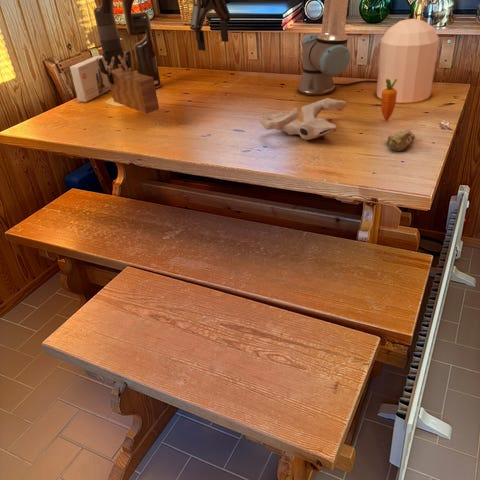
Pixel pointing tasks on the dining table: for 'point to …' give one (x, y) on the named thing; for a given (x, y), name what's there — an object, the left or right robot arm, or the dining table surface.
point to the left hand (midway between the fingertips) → (119, 81)
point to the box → (134, 90)
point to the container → (408, 60)
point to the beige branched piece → (305, 120)
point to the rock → (400, 140)
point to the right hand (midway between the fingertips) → (213, 45)
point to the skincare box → (89, 79)
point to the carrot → (388, 99)
